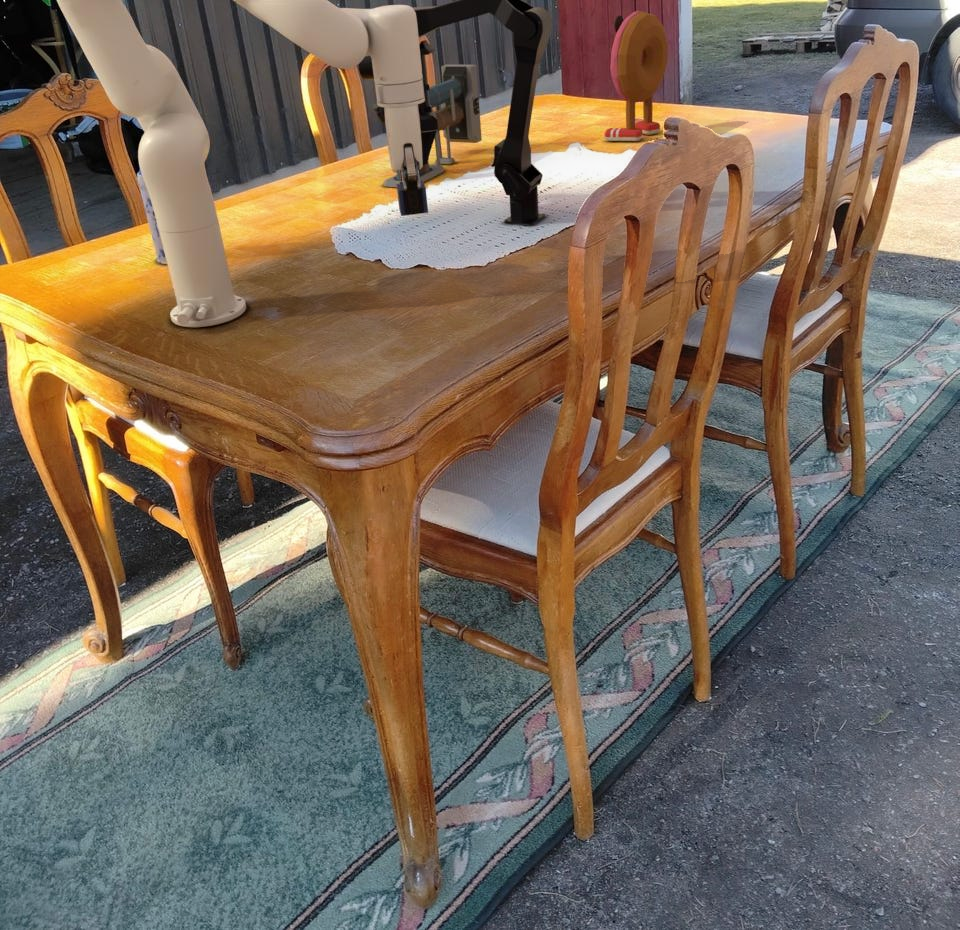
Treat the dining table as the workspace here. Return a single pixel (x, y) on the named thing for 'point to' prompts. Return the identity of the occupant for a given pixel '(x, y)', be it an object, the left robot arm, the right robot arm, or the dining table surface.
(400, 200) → the block
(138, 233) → the dining table surface
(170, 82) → the left robot arm
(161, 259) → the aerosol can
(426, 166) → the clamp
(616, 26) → the toy
